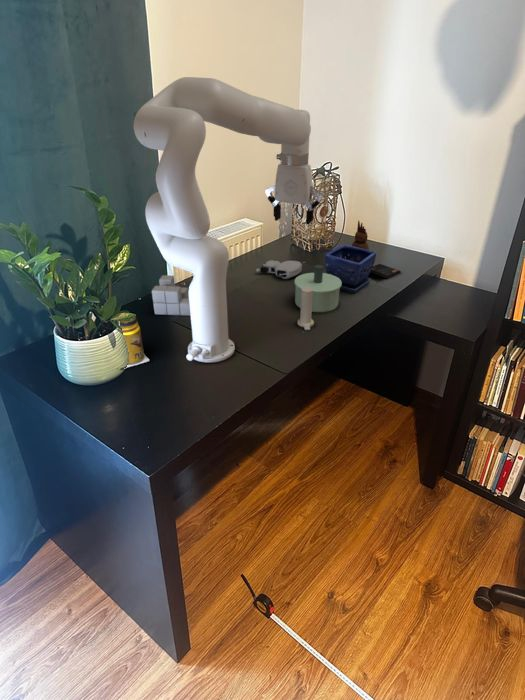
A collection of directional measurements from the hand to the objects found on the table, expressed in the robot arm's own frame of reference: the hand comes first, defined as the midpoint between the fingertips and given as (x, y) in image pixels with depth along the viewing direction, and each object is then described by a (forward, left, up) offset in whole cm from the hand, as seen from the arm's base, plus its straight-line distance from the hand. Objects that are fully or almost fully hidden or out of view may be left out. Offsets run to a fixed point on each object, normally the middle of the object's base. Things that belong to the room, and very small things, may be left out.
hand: (293, 221), depth 145 cm
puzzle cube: (-16, +32, -26) cm, 45 cm away
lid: (+2, -8, -19) cm, 21 cm away
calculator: (+34, -22, -26) cm, 48 cm away
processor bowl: (+2, -8, -26) cm, 28 cm away
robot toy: (+20, +11, -26) cm, 35 cm away
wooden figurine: (+44, -12, -26) cm, 53 cm away
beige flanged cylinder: (-13, -9, -26) cm, 31 cm away
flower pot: (+19, -14, -26) cm, 35 cm away
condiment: (-48, +28, -26) cm, 62 cm away
